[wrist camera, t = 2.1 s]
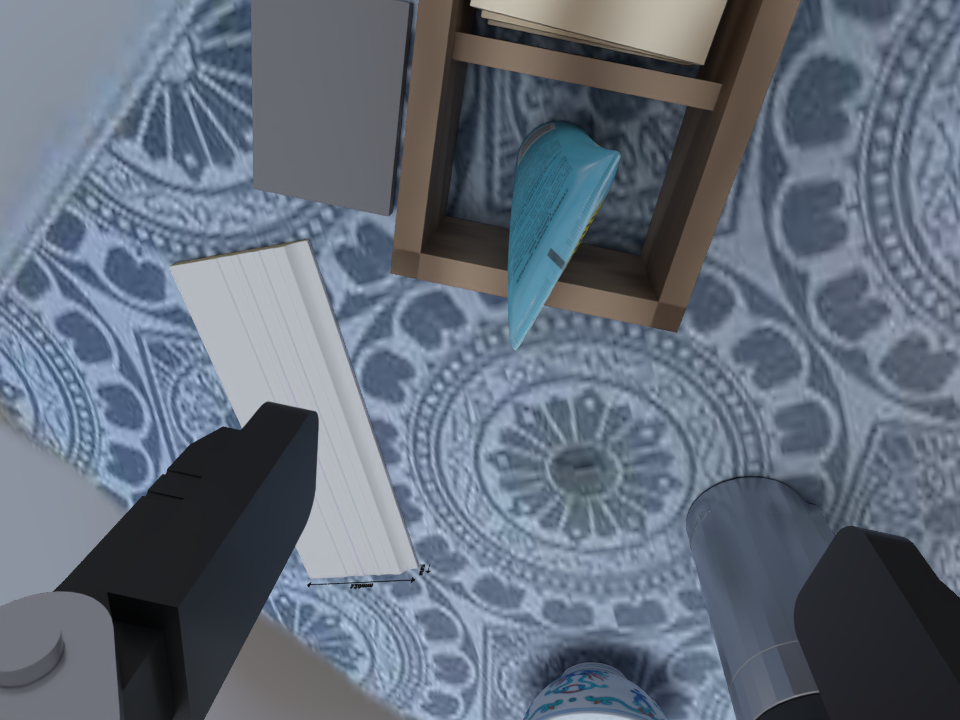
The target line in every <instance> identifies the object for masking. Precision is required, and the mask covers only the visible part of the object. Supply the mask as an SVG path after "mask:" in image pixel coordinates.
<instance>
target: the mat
mask: <svg viewBox="0 0 960 720" xmlns="http://www.w3.org/2000/svg"><path fill="white" fill-rule="evenodd" d="M412 14H413V4H412V3H408V2H402V1H397V0H251V36H252V109H253V182H254V189H257V190H262V191H267V192H272V193H277V194H281V195H286V196H291V197H296V198H301V199H306V200H311V201H316V202H321V203H325V204H330V205H335V206H340V207H345V208H350V209H355V210H360V211H365V212H370V213H374V214H379V215H384V216H390V215H391V214H392V212H393V202H394V193H395V183H396V173H397V163H398V153H399V143H400V133H401V123H402V113H403V103H404V93H405V83H406V73H407V63H408V54H409V44H410V34H411V24H412Z"/></svg>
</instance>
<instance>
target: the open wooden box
mask: <svg viewBox="0 0 960 720" xmlns="http://www.w3.org/2000/svg"><path fill="white" fill-rule="evenodd" d="M800 1H801V0H727V2H726V5H725V8H724V11H723V13H722V16H721V19H720V21H719V24H718V27H717V30H716V32H715V35H714V38H713V41H712V43H711V46H710V49H709V52H708V54H707V57H706V60H705V63H704V65H700V68H699V72H698V75H697V78H692V77H687V76H682V75H677V74H672V73H667V72H662V71H657V70H652V69H647V68H642V67H637V66H632V65H627V64H621V63H616V62H611V61H606V60H601V59H596V58H591V57H586V56H581V55H576V54H571V53H566V52H561V51H555V50H550V49H545V48H540V47H535V46H530V45H525V44H520V43H515V42H510V41H505V40H500V39H495V38H490V37H484V36H479V35H474V34H472V28H473V21H474V14H475V8H474V7H472V6H470V3H471V0H419V4H418V13H417V23H416V33H415V42H414V52H413V61H412V71H411V80H410V90H409V100H408V109H407V119H406V128H405V138H404V148H403V157H402V167H401V176H400V186H399V196H398V205H397V215H396V224H395V234H394V244H393V253H392V263H391V272H390V273H391V274H395V275H400V276H405V277H410V278H415V279H420V280H425V281H429V282H434V283H439V284H444V285H449V286H454V287H458V288H463V289H468V290H473V291H478V292H483V293H488V294H492V295H497V296H502V297H507V298H508V252H509V234H510V229H508V228H503V227H498V226H493V225H488V224H483V223H478V222H473V221H468V220H464V219H459V218H454V217H449V216H445V214H446V207H447V200H448V193H449V186H450V180H451V173H452V166H453V159H454V152H455V145H456V138H457V131H458V124H459V117H460V110H461V104H462V97H463V90H464V83H465V76H466V69H467V62H469V63H474V64H479V65H484V66H489V67H494V68H499V69H504V70H509V71H514V72H520V73H525V74H530V75H535V76H540V77H545V78H550V79H555V80H560V81H565V82H570V83H575V84H580V85H585V86H590V87H595V88H600V89H605V90H610V91H615V92H620V93H625V94H631V95H636V96H641V97H646V98H651V99H656V100H661V101H666V102H671V103H676V104H681V105H686V106H687V109H686V113H685V116H684V119H683V122H682V125H681V128H680V132H679V135H678V138H677V141H676V144H675V147H674V151H673V154H672V157H671V160H670V163H669V166H668V170H667V173H666V176H665V179H664V182H663V185H662V188H661V192H660V195H659V198H658V201H657V204H656V207H655V211H654V214H653V217H652V220H651V223H650V226H649V230H648V233H647V236H646V239H645V242H644V245H643V248H642V252H641V255H635V254H630V253H625V252H621V251H616V250H611V249H606V248H601V247H596V246H591V245H586V244H581V243H580V244H579V246H578V248H577V250H576V251H575V253H574V255H573V256H572V258H571V260H570V261H569V263H568V265H567V267H566V268H565V270H564V271H563V273H562V274H561V276H560V277H559V279H558V281H557V282H556V284H555V286H554V288H553V290H552V291H551V294H550V295H549V297H548V299H547V300H546V302H545V304H544V305H546V306H550V307H555V308H560V309H565V310H570V311H575V312H580V313H584V314H589V315H594V316H599V317H604V318H609V319H613V320H618V321H623V322H628V323H633V324H638V325H643V326H647V327H652V328H657V329H662V330H667V331H672V332H676V333H677V332H678V329H679V326H680V323H681V321H682V318H683V315H684V313H685V310H686V307H687V305H688V302H689V299H690V297H691V294H692V291H693V289H694V286H695V283H696V281H697V278H698V275H699V272H700V270H701V267H702V264H703V262H704V259H705V256H706V254H707V251H708V248H709V246H710V243H711V240H712V238H713V235H714V232H715V230H716V227H717V224H718V221H719V219H720V216H721V213H722V211H723V208H724V205H725V203H726V200H727V197H728V195H729V192H730V189H731V187H732V184H733V181H734V179H735V176H736V173H737V170H738V168H739V165H740V162H741V160H742V157H743V154H744V152H745V149H746V146H747V144H748V141H749V138H750V136H751V133H752V130H753V128H754V125H755V122H756V119H757V117H758V114H759V111H760V109H761V106H762V103H763V101H764V98H765V95H766V93H767V90H768V87H769V85H770V82H771V79H772V77H773V74H774V71H775V68H776V66H777V63H778V60H779V58H780V55H781V52H782V50H783V47H784V44H785V42H786V39H787V36H788V34H789V31H790V28H791V26H792V23H793V20H794V18H795V15H796V12H797V9H798V7H799V4H800Z"/></svg>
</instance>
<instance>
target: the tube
mask: <svg viewBox="0 0 960 720" xmlns="http://www.w3.org/2000/svg"><path fill="white" fill-rule="evenodd" d="M620 158H621V155H620V153H619V151H616V150H608V149H605V148H602V147H600V146H599V145H598V144H596V143H595V142H594V141H593V140H592V139H591V138H590V137H589V135H588V134H587V133H586V132H585V131H584V130H583V129H582V128H580V127H578V126H577V125H575V124H573V123H570V122H566V121H552V122H547V123H545V124H542V125H540V126H538V127H537V128H535V129H534V130H533V131H532V132H531V133H530V134H529V135H528V136H527V137H526V138H525V140H524V141H523V143H522V145H521V147H520V150H519V153H518V157H517V162H516V170H515V179H514V189H513V199H512V209H511V221H510V234H509V252H508V319H509V332H510V343H511V346H512V347H513V349H514V350H517V349H518V347H519V346H520V344H521V343H522V341H523V339H524V337H525V336H526V334H527V333H528V331H529V330H530V328H531V326H532V325H533V323H534V322H535V320H536V318H537V316H538V314H539V313H540V311H541V309H542V307H543V305H544V304H545V302H546V300H547V299H548V297H549V295H550V294H551V291H552V290H553V288H554V286H555V284H556V282H557V281H558V279H559V277H560V276H561V274H562V273H563V271H564V270H565V268H566V267H567V265H568V263H569V261H570V260H571V258H572V256H573V255H574V253H575V251H576V250H577V248H578V246H579V244H580V243H581V241H582V239H583V237H584V236H585V234H586V232H587V230H588V228H589V227H590V225H591V223H592V221H593V220H594V218H595V216H596V215H597V213H598V211H599V209H600V208H601V206H602V204H603V202H604V200H605V198H606V196H607V194H608V192H609V190H610V187H611V185H612V182H613V180H614V177H615V174H616V171H617V168H618V162H619V160H620Z"/></svg>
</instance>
